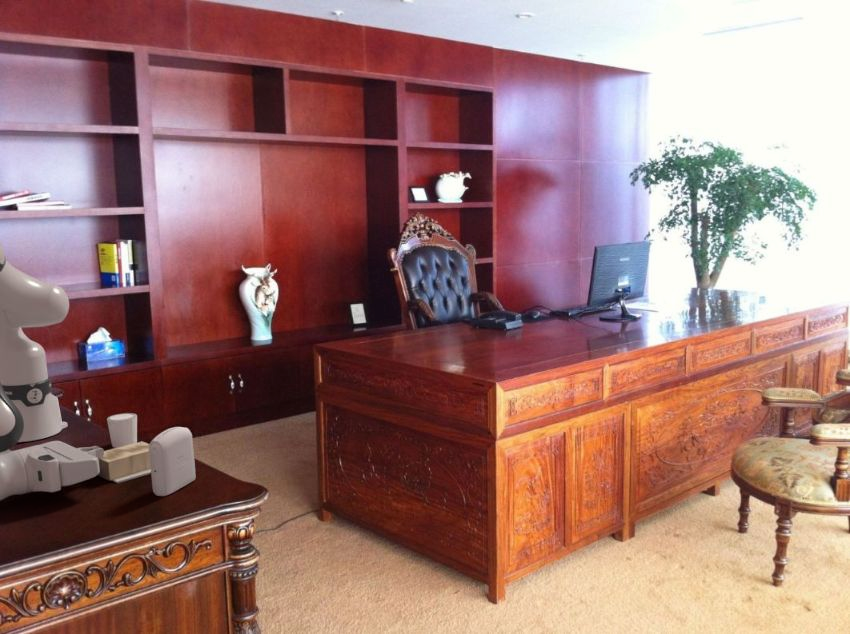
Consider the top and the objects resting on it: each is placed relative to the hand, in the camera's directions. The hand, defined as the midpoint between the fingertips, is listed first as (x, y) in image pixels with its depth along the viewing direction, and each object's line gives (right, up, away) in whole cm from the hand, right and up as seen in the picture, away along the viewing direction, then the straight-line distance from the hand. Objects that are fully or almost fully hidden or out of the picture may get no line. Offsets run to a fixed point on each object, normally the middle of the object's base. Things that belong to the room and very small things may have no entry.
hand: (100, 450), depth 173 cm
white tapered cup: (-4, -3, +24) cm, 25 cm away
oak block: (0, -4, 0) cm, 4 cm away
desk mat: (+5, -5, +6) cm, 9 cm away
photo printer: (+18, -7, -7) cm, 20 cm away
